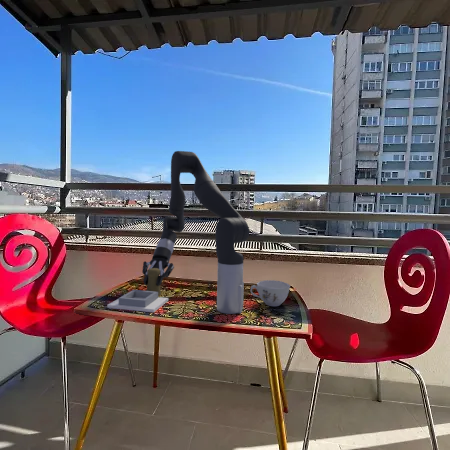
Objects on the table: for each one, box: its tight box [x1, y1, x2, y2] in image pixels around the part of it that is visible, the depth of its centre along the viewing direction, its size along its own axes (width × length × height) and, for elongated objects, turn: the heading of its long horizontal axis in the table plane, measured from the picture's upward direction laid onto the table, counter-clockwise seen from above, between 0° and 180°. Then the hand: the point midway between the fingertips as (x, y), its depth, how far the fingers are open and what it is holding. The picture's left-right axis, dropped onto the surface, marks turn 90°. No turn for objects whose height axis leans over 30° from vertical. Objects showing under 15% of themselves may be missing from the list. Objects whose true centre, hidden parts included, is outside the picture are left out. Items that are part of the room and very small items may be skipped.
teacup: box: [249, 279, 291, 307], centre depth 107 cm, size 15×12×8 cm
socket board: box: [106, 289, 169, 313], centre depth 104 cm, size 18×13×4 cm
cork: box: [146, 268, 162, 297], centre depth 115 cm, size 6×6×11 cm
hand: (151, 284), depth 113 cm, fingers closed on cork, 4 cm apart
